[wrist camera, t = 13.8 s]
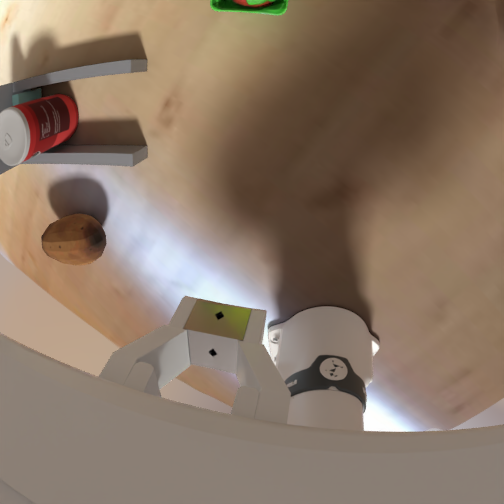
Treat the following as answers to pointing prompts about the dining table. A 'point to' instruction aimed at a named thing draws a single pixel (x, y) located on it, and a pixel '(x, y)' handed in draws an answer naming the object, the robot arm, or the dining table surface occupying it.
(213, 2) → the fruit basket
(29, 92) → the block
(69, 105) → the canned food
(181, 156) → the dining table surface
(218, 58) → the dining table surface
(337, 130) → the dining table surface
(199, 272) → the dining table surface
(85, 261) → the potato
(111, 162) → the lane
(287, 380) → the robot arm
